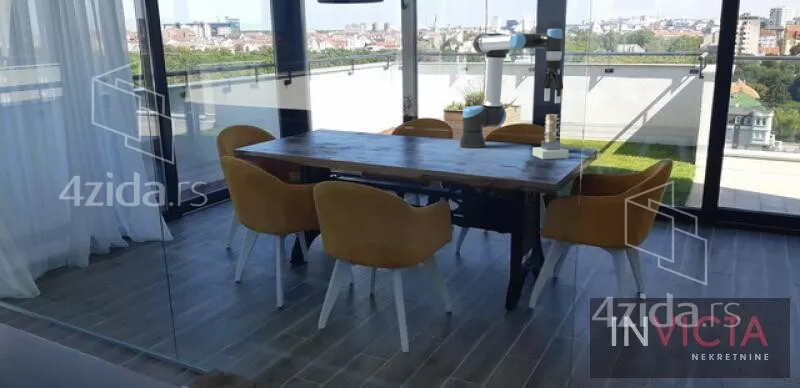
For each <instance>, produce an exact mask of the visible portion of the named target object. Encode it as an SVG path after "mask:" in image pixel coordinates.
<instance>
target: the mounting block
mask: <svg viewBox="0 0 800 388" xmlns="http://www.w3.org/2000/svg"><path fill="white" fill-rule="evenodd" d="M569 153H570V152H569V150H568V149H566V148H562V147H560V150H544V149H542V148H541V146H540V147H539V146H537V147H532V156H534V157H536V158H539V159H541V160H552V159H553V160H555V159H556V160H557V159H569Z"/></svg>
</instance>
